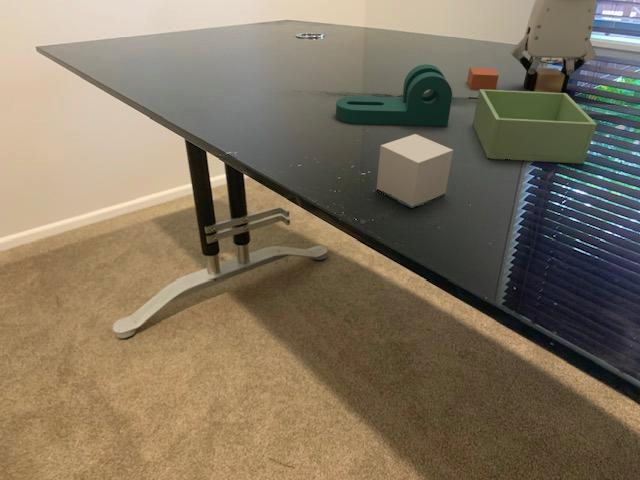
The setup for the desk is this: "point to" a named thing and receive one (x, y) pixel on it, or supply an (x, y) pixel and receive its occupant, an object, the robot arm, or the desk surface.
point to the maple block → (549, 80)
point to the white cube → (414, 169)
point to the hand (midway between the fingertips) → (542, 93)
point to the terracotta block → (482, 79)
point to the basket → (532, 126)
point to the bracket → (404, 102)
